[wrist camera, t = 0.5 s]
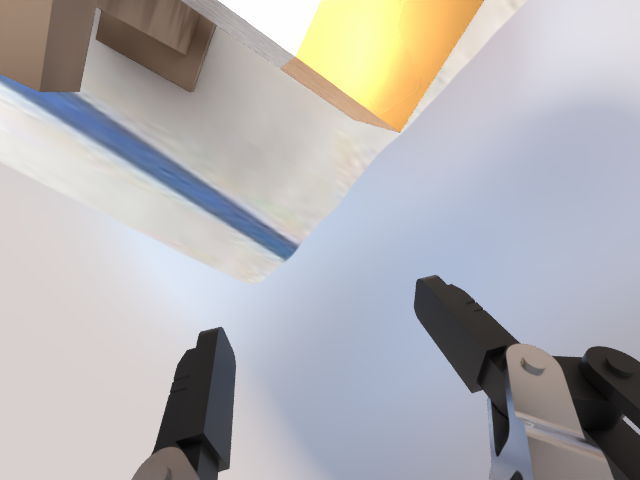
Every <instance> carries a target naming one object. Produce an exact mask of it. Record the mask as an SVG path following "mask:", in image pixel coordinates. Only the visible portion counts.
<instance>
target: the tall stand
mask: <svg viewBox="0 0 640 480" xmlns="http://www.w3.org/2000/svg"><path fill="white" fill-rule="evenodd" d="M96 7H98V8H99V9H101V10H102V11H101V16H100V21H99V25H98V30H97V35H96V40H98V41H100V42H101V43H103V44H105V45H107V46H108V47H110V48H112V49H114V50H116V51H117V52H119V53H121V54H123V55H125V56H126V57H128V58H130V59H132V60H134V61H135V62H137V63H139V64H141V65H142V66H144V67H146V68H148V69H150V70H151V71H153V72H155V73H157V74H159V75H160V76H162V77H164V78H166V79H167V80H169V81H171V82H173V83H175V84H176V85H178V86H180V87H182V88H184V89H185V90H187V91H189V92H193V91H194V88H195V85H196V82H197V79H198V76H199V73H200V70H201V67H202V64H203V61H204V58H205V56H206V53H207V50H208V47H209V44H210V41H211V38H212V35H213V32H214V29H215V26H216V24H214V23H213V22H211V21H210V20H209V19H207V18H206V17H204V16H203V15H201V14H200V13H198V12H197V11H195V10H194V9H193V8H191V7H190V6H188V5H187V4H185V3H184V2H182V1H181V0H0V74H1V75H3V76H6V77H8V78H10V79H12V80H14V81H17V82H19V83H21V84H23V85H25V86H28V87H30V88H32V89H34V90H36V91H38V92H80V86H81V81H82V76H83V71H84V66H85V61H86V56H87V51H88V46H89V41H90V35H91V30H92V25H93V20H94V15H95V10H96Z"/></svg>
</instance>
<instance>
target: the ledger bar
mask: <svg viewBox="0 0 640 480" xmlns="http://www.w3.org/2000/svg"><path fill="white" fill-rule="evenodd" d="M181 1H182V2H184V3H185V4H187V5H188V6H190V7H191V8H193V9H194V10H195V11H197V12H198V13H200V14H201V15H203V16H204V17H206V18H207V19H209V20H210V21H211V22H213V23H214V24H216V25H217V26H219V27H220V28H222V29H223V30H224V31H226V32H227V33H229V34H230V35H232V36H233V37H235V38H236V39H238V40H239V41H240V42H242V43H243V44H245V45H246V46H248V47H249V48H251V49H252V50H253V51H255V52H256V53H258V54H259V55H261V56H262V57H264V58H265V59H267V60H268V61H269V62H271V63H272V64H274V65H275V66H277V67H278V68H280V69H281V70H283V71H284V72H285V73H287V74H288V75H290V76H291V77H293V78H294V79H296V80H297V81H298V82H300V83H301V84H303V85H304V86H306V87H307V88H309V89H310V90H312V91H313V92H314V93H316V94H317V95H319V96H320V97H322V98H323V99H325V100H326V101H327V102H329V103H330V104H332V105H333V106H335V107H336V108H338V109H339V110H341V111H342V112H343V113H345V114H346V115H348V116H349V117H351V118H352V119H354V120H356V121H360V122H364V123H367V124H371V125H374V126H378V127H382V128H385V129H389V130H392V131H396V132H399V133H400V132H401V130H402V128H403V127H404V125H405V124H406V122H407V121H408V119H409V117H410V116H411V114H412V113H413V111H414V110H415V108H416V106H417V105H418V103H419V102H420V100H421V99H422V97H423V95H424V94H425V92H426V91H427V89H428V88H429V86H430V84H431V83H432V81H433V80H434V78H435V77H436V75H437V73H438V72H439V70H440V69H441V67H442V66H443V64H444V62H445V61H446V59H447V58H448V56H449V55H450V53H451V51H452V50H453V48H454V47H455V45H456V44H457V42H458V40H459V39H460V37H461V36H462V34H463V33H464V31H465V30H466V28H467V26H468V25H469V23H470V22H471V20H472V19H473V17H474V15H475V14H476V12H477V11H478V9H479V8H480V6H481V4H482V3H483V1H484V0H181Z"/></svg>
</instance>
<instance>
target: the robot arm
mask: <svg viewBox="0 0 640 480" xmlns="http://www.w3.org/2000/svg"><path fill="white" fill-rule="evenodd" d="M414 309H415V313H416V316H417V318H418V319H419V321H420V322H421V324H422V325H423V326H424V328H425V329H426V331H427V332H428V333H429V335H430V336H431V337H432V339H433V340H434V342H435V343H436V344H437V346H438V347H439V349H440V350H441V351H442V353H443V354H444V355H445V357H446V358H447V360H448V361H449V362H450V364H451V365H452V366H453V368H454V369H455V371H456V372H457V373H458V375H459V376H460V377H461V379H462V380H463V382H464V383H465V384H466V386H467V387H468V389H469V390H470V391H471V393H474V392H477V391H481V390H484V392H485V393H486V394H487V396H488V399H487V406H488V421H489V434H490V448H491V468H490V474H489V480H640V435H638V433H636V432H635V431H634V430H633V429H632V428H631V427H630V426H629V425H628V424H627V423H626V422H625V421H624V420H623V418H624V417H625V416H626V417H627V418H629V419H630V420H631V421H632V422H633V423H634V424H635V425H636V426H637V427H638V428H639V429H640V362H639V361H637V360H636V359H634V358H633V357H631V356H629V355H627V354H625V353H623V352H620V351H618V350H615V349H612V348H608V347H601V346H596V347H591V348H590V349H588V350H587V351H586V353H585V355H584V356H583V357H561V356H551V355H549V354H548V353H547V352H545V351H543V350H541V349H539V348H537V347H535V346H532V345H528V344H521V343H519V342H518V341H517V340H516V339H515V338H514V337H513V336H511V334H510V333H508V331H506V330H505V329H504V328H503V327H502V326H501V325H500V324H499V323H498V322H497V321H496V320H495V319H494V318H493V317H492V316H491V315H490V314H488V313H487V312H486V311H485V310H483V308H482V307H481V306H480V305H479V304H478V303H477V302H476V303H475V300H474V299H473V298H471V297H470V296H469V295H468V294H467V293H466V292H465V291H463V290H462V289H460V288H458V287H456V286H454V285H452V284H450V285H447V284H446V283H445V282H444V281H443V280H442V279H441V278H440V277H439V276H437V275H433V276H429V277H425V278H421V279H418V280H417V282H416V292H415V301H414ZM235 372H236V362H235V355H234V352H233V349H232V347H231V345H230V343H229V341H228V338H227V336H226V334H225V331H224V330H223V328H222V327H218V328H214V329H210V330H206V331H202V332H200V333H199V336H198V340H197V346H196V348H193V349H189V350H187V351H186V353H185V354H184V356H183V357H182V359H181V360H180V362H179V363H178V365H177V368H176V372H175V376H174V382H173V383H172V387H171V390H170V395H169V397H168V401H167V405H166V408H165V412H164V415H163V419H162V423H161V426H160V430H159V434H158V438H157V441H156V444H155V447H154V450H153V452H152V454H151V456H150V457H149V458H148V459H147V460H146V461H145V462H144V463H143V464H142V465H141V466H140V467H139V469H138V470H137V472H136V473H135V475H134V477H133V478H132V480H217V479H218V472H220V471H223V470H227V469H229V467H230V450H231V436H232V420H233V404H234V387H235Z"/></svg>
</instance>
